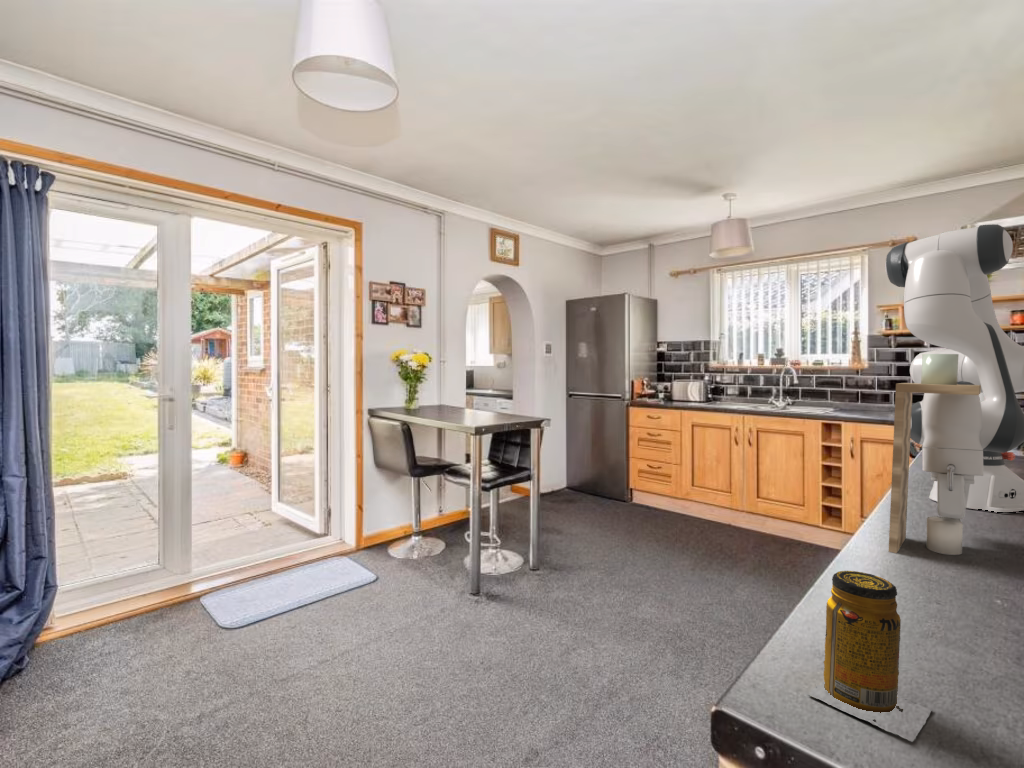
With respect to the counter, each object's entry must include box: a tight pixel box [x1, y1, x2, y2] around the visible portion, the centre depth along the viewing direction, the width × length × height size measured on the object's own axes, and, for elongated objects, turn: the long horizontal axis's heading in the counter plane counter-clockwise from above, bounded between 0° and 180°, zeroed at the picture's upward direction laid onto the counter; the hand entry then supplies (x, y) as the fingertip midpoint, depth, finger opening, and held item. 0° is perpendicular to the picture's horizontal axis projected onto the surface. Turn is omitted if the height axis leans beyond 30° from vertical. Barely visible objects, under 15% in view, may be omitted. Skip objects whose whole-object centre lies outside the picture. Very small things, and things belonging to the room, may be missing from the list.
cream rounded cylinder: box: [925, 515, 964, 556], centre depth 94 cm, size 5×5×5 cm
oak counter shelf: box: [888, 382, 982, 554], centre depth 93 cm, size 12×11×30 cm
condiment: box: [823, 570, 902, 713], centre depth 50 cm, size 7×8×12 cm
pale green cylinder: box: [921, 354, 959, 385], centre depth 92 cm, size 5×5×5 cm
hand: (953, 538), depth 96 cm, fingers closed
